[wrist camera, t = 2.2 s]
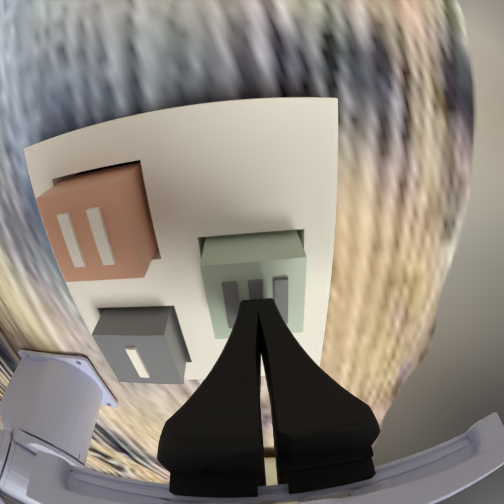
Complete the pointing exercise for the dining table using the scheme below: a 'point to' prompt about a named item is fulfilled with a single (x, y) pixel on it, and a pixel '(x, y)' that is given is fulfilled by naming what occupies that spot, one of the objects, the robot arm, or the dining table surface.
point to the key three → (254, 276)
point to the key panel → (212, 200)
